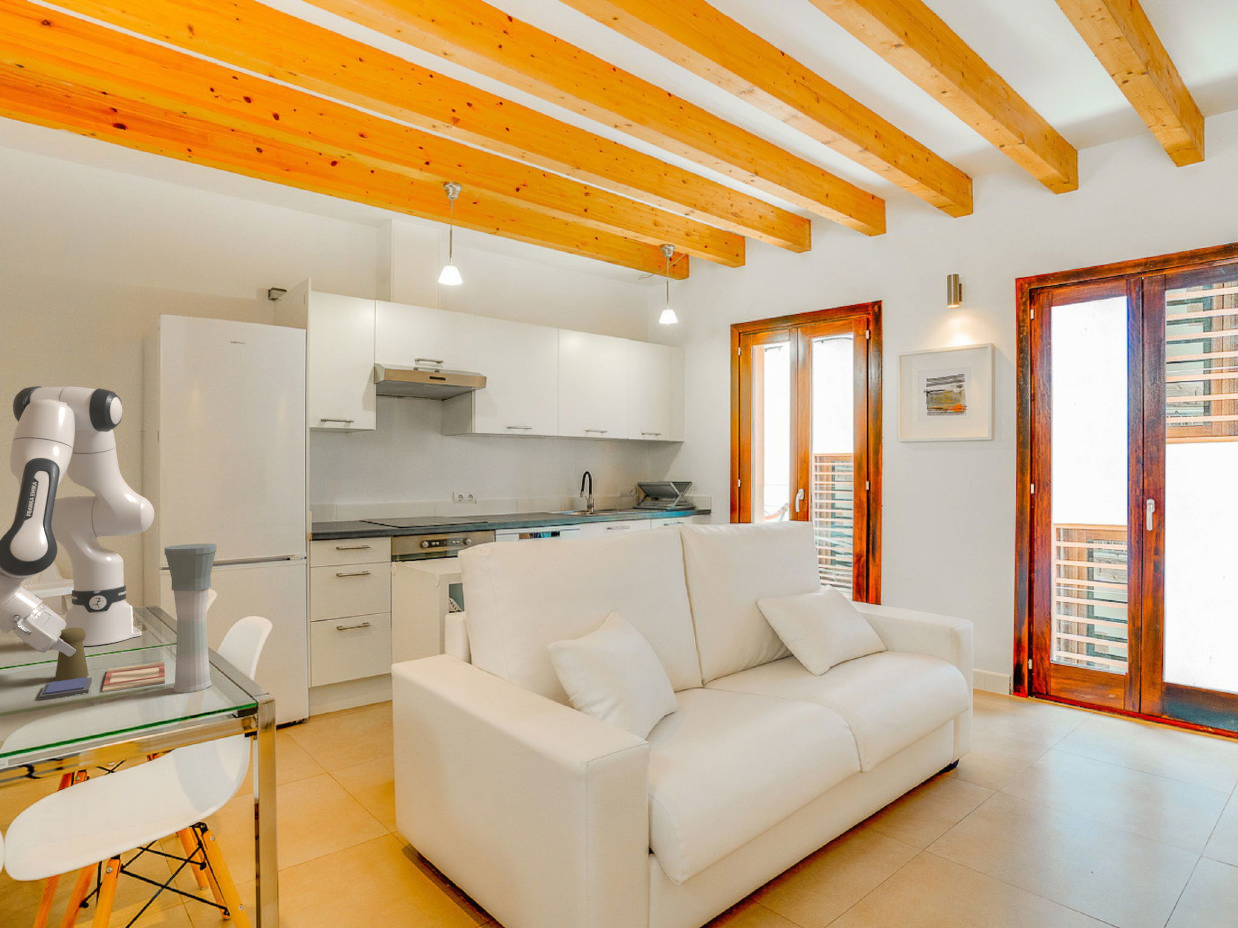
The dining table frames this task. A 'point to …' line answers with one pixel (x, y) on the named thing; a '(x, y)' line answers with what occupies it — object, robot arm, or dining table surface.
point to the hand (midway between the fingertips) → (75, 650)
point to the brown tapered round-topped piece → (75, 663)
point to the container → (191, 613)
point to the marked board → (134, 676)
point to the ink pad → (65, 688)
